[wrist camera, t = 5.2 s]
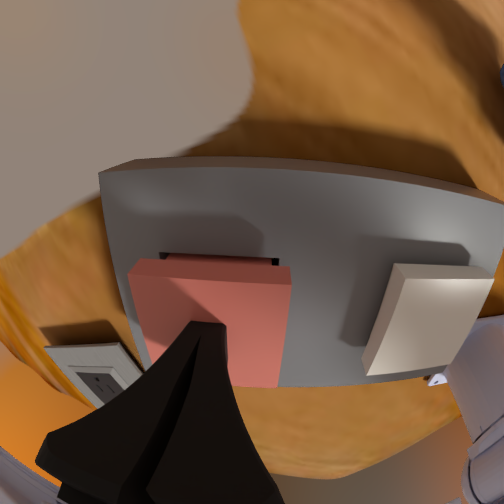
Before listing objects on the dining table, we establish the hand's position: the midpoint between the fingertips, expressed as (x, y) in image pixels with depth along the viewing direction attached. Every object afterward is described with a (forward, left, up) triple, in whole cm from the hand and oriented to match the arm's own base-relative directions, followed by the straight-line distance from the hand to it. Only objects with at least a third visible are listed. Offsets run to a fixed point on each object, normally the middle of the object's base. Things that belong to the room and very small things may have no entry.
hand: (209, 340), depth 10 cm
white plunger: (-10, 0, -6) cm, 12 cm away
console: (-5, 0, -6) cm, 8 cm away
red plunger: (0, 0, -5) cm, 5 cm away
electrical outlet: (+11, +14, -6) cm, 19 cm away
